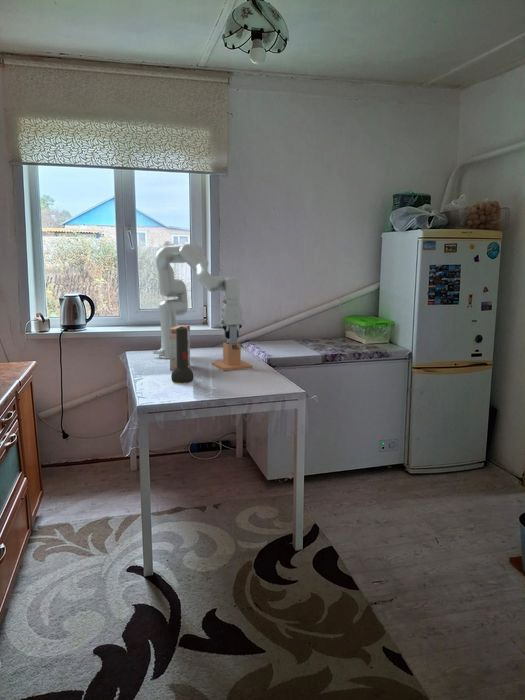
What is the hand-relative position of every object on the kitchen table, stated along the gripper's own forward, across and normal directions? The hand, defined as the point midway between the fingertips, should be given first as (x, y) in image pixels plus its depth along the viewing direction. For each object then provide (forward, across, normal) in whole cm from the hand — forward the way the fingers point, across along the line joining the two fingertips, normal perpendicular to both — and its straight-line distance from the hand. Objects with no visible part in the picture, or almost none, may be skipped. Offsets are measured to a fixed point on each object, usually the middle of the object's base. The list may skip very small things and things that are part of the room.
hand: (231, 337), depth 256 cm
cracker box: (+15, -25, +7) cm, 30 cm away
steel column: (+12, 0, 0) cm, 12 cm away
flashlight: (+15, -32, -19) cm, 40 cm away
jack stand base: (+15, 0, 0) cm, 15 cm away
